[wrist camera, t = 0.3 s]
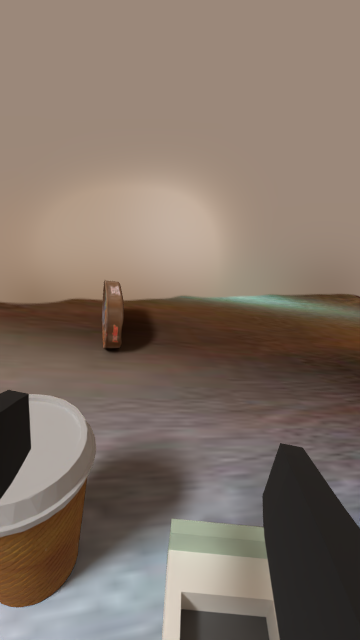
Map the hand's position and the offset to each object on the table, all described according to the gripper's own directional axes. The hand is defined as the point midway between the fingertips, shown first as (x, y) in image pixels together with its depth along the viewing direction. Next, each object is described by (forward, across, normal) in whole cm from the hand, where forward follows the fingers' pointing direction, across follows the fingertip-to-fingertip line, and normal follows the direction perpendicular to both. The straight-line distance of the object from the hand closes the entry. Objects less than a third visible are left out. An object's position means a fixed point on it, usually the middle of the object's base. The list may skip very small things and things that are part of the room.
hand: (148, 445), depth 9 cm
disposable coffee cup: (+8, +8, +21) cm, 24 cm away
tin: (+42, +13, +19) cm, 48 cm away
